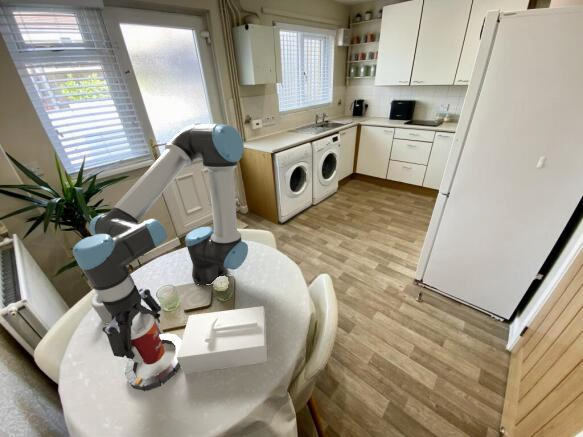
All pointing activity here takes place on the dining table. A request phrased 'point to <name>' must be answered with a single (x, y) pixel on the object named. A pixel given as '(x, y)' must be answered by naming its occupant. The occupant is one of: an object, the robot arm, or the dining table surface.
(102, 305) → the mug
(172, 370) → the grey stone ring
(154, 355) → the coffee cup
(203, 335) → the white hammer box
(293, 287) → the dining table surface
